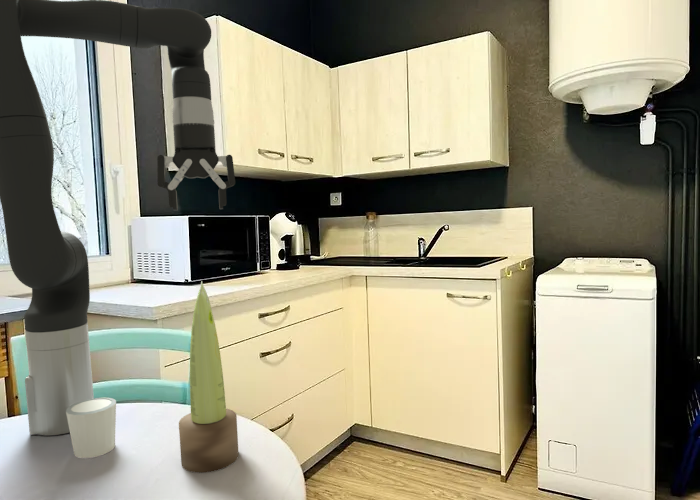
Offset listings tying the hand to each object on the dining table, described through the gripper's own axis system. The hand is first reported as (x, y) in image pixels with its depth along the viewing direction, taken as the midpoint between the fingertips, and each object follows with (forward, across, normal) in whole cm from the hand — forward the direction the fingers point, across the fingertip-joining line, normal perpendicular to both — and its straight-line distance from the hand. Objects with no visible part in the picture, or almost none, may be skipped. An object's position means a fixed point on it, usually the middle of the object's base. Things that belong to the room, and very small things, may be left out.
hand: (198, 209), depth 99 cm
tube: (+30, 0, -29) cm, 42 cm away
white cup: (+36, -17, -20) cm, 45 cm away
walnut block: (+36, 0, -29) cm, 46 cm away
